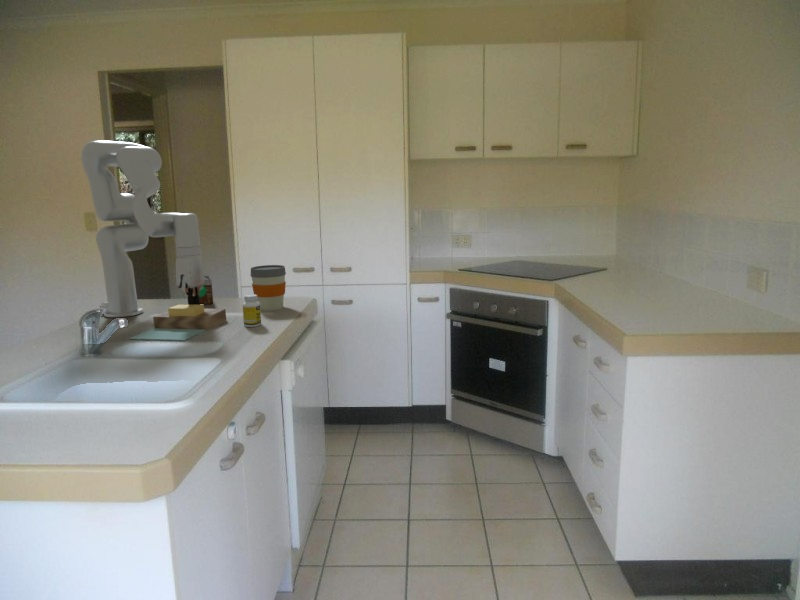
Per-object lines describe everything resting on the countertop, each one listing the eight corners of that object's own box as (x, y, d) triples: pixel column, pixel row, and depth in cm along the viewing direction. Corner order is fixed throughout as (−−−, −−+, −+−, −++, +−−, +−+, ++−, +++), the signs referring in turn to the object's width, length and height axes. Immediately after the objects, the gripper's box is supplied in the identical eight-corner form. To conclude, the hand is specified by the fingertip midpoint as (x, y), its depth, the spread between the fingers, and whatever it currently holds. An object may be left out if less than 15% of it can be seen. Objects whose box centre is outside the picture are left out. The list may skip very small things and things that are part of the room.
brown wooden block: (154, 329, 179) (153, 316, 178) (177, 319, 192) (176, 308, 191) (206, 330, 176) (205, 317, 175) (226, 320, 188) (225, 308, 188)
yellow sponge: (168, 316, 179) (168, 308, 178) (179, 311, 185) (178, 304, 184) (195, 316, 177) (194, 308, 177) (204, 312, 183) (203, 304, 183)
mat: (129, 339, 167) (128, 338, 167) (153, 329, 179) (153, 328, 179) (184, 341, 164) (184, 339, 164) (205, 330, 176) (205, 329, 175)
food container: (194, 301, 223) (192, 276, 221) (210, 299, 225) (208, 275, 223) (196, 307, 211) (194, 280, 209) (213, 305, 214) (211, 279, 212)
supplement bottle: (259, 327, 178) (257, 296, 177) (242, 327, 178) (239, 297, 176) (262, 323, 184) (260, 293, 182) (246, 323, 184) (243, 294, 182)
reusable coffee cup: (295, 305, 210) (292, 265, 207) (272, 312, 199) (269, 270, 196) (268, 303, 215) (265, 264, 212) (245, 309, 204) (242, 269, 201)
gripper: (190, 249, 190) (195, 302, 193) (164, 254, 175) (171, 312, 179) (210, 249, 188) (215, 303, 192) (187, 254, 174) (192, 312, 177)
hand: (194, 307), depth 185 cm, fingers closed
